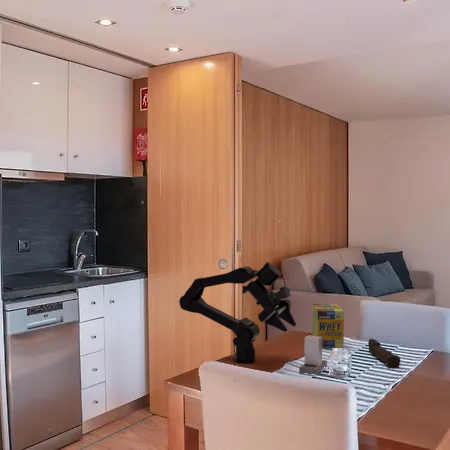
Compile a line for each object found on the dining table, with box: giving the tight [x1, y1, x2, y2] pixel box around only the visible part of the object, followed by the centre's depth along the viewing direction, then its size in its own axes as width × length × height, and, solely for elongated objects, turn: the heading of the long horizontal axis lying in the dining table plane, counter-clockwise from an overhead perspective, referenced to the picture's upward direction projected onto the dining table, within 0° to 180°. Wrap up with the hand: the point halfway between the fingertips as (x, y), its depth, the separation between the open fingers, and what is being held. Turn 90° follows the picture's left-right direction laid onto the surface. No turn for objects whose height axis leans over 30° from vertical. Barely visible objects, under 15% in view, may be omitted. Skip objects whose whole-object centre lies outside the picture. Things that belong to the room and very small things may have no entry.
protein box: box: [311, 303, 345, 349], centre depth 213 cm, size 10×15×16 cm
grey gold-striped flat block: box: [298, 359, 328, 376], centre depth 180 cm, size 12×6×2 cm, turn 153°
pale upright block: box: [304, 335, 323, 366], centre depth 180 cm, size 4×5×9 cm
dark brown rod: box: [367, 338, 401, 369], centre depth 193 cm, size 23×5×6 cm, turn 4°
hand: (291, 328), depth 184 cm, fingers open, 9 cm apart
